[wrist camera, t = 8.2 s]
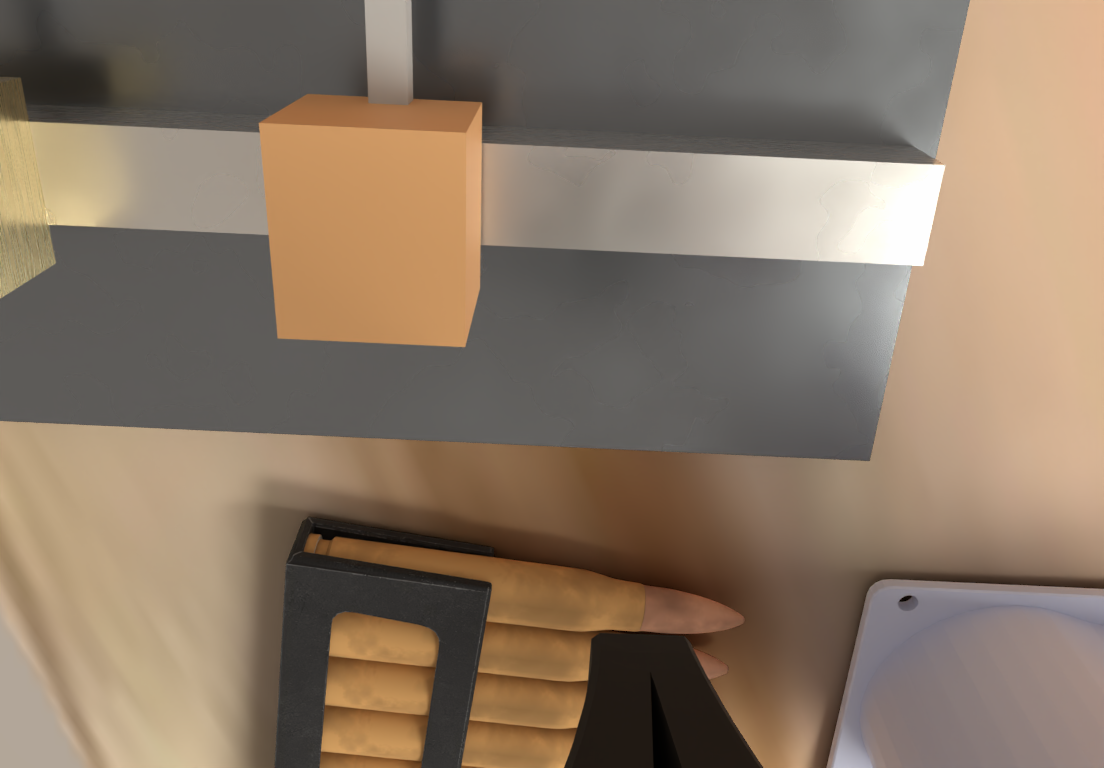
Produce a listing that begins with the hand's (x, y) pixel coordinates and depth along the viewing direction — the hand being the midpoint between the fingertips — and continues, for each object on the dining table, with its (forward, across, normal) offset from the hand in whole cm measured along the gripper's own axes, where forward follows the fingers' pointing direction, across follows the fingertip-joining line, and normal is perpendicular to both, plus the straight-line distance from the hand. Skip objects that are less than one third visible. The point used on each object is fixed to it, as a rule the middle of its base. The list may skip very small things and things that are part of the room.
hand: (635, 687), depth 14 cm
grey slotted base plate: (+11, +4, -5) cm, 13 cm away
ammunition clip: (+9, +8, +10) cm, 16 cm away
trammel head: (+9, +4, -7) cm, 12 cm away
